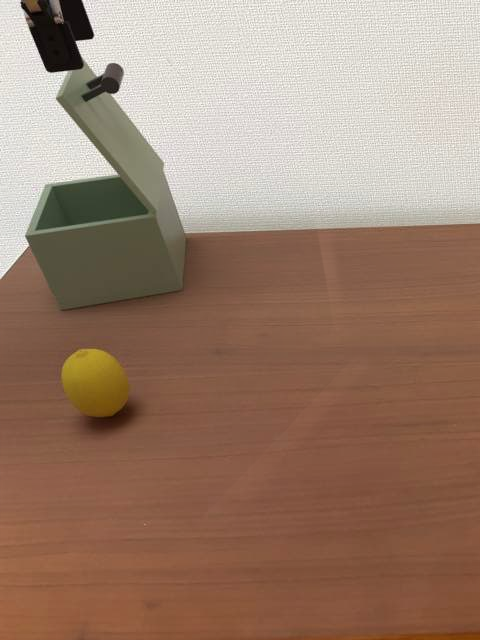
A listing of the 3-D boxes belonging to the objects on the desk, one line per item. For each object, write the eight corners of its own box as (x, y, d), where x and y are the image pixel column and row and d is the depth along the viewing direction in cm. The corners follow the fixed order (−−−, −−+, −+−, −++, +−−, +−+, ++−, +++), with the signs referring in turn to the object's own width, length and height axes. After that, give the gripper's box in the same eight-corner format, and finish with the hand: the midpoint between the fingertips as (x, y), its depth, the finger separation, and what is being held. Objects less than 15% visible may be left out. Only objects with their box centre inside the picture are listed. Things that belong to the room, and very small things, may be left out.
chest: (60, 310, 97) (24, 235, 91) (76, 254, 107) (45, 184, 101) (182, 290, 100) (155, 216, 94) (186, 238, 110) (162, 167, 104)
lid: (55, 98, 83) (98, 75, 83) (74, 57, 94) (112, 37, 93) (151, 214, 93) (189, 194, 93) (158, 166, 103) (193, 147, 103)
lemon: (69, 426, 81) (34, 361, 76) (110, 392, 85) (80, 329, 80) (112, 439, 79) (79, 374, 74) (152, 404, 83) (124, 340, 78)
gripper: (-37, -167, 73) (43, 34, 85) (-87, -145, 61) (15, 89, 72) (53, -173, 75) (120, 25, 86) (22, -152, 62) (106, 77, 73)
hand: (72, 54), depth 79 cm, fingers open, 9 cm apart
